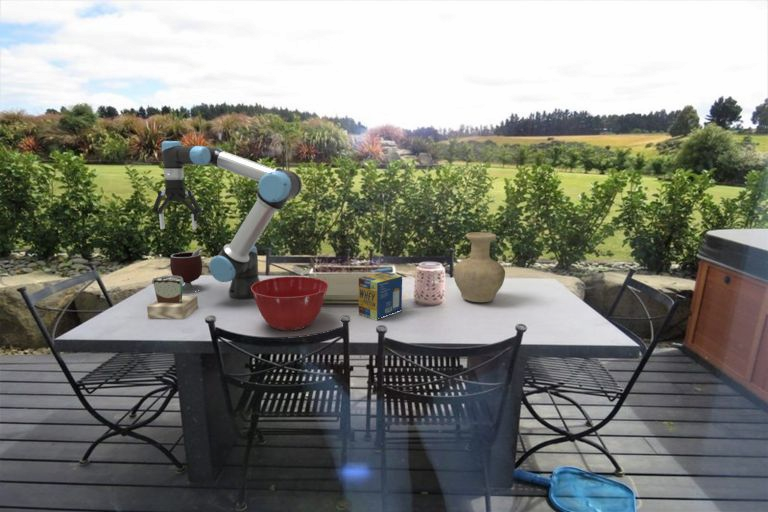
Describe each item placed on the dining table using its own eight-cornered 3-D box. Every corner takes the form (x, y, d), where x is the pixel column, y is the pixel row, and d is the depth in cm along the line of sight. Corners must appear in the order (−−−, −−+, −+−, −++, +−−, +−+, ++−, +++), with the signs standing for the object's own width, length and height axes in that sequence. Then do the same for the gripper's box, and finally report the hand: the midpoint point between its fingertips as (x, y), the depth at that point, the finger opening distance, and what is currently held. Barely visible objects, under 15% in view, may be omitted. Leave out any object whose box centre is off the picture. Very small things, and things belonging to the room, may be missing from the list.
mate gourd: (178, 295, 207) (174, 252, 203) (168, 289, 217) (164, 248, 213) (212, 289, 217) (209, 248, 213) (200, 283, 227) (197, 244, 223)
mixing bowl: (332, 312, 186) (332, 276, 183) (323, 339, 158) (322, 296, 155) (264, 311, 186) (262, 275, 183) (243, 338, 158) (240, 296, 155)
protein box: (358, 314, 183) (357, 277, 180) (383, 306, 194) (384, 271, 191) (376, 321, 176) (376, 282, 173) (402, 311, 188) (403, 275, 184)
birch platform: (198, 307, 191) (197, 296, 190) (184, 318, 177) (183, 306, 176) (164, 307, 191) (163, 295, 190) (148, 318, 177) (146, 306, 176)
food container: (191, 299, 185) (189, 275, 183) (183, 304, 179) (181, 279, 177) (162, 298, 186) (160, 274, 184) (153, 303, 180) (151, 278, 178)
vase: (508, 308, 193) (513, 239, 186) (456, 307, 193) (459, 238, 187) (497, 293, 215) (500, 230, 208) (449, 292, 215) (452, 230, 209)
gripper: (139, 179, 186) (145, 230, 191) (200, 179, 187) (204, 230, 191) (148, 178, 194) (153, 227, 198) (207, 178, 194) (210, 227, 199)
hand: (178, 228), depth 195 cm, fingers open, 13 cm apart
